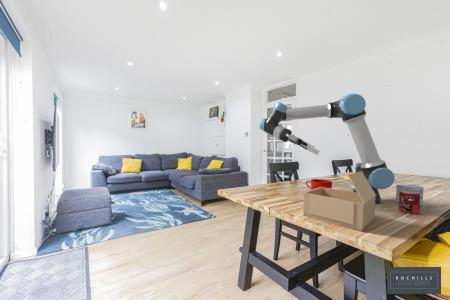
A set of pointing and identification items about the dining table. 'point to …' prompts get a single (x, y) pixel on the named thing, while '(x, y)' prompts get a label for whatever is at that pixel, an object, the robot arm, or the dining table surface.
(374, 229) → the dining table surface
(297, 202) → the dining table surface
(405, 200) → the canned food
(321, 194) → the carton
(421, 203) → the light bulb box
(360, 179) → the carton flap
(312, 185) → the ceramic cup
